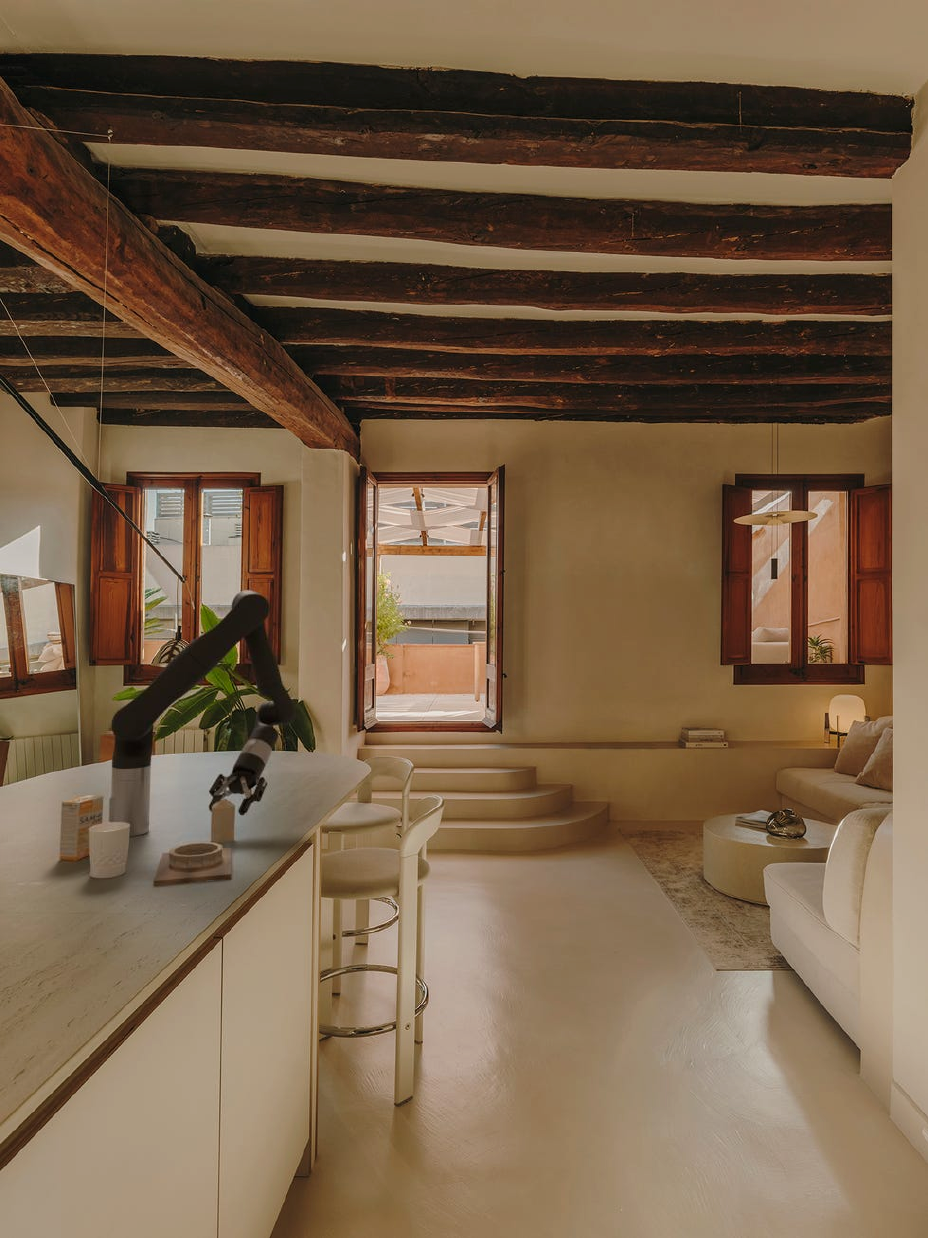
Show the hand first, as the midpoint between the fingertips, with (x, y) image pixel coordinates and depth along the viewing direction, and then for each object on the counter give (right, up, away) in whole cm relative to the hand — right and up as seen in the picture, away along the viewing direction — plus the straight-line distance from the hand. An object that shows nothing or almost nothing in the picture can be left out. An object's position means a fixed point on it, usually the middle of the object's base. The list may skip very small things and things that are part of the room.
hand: (226, 812), depth 177 cm
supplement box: (-29, -6, -15) cm, 33 cm away
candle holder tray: (+1, -6, -23) cm, 24 cm away
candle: (0, -7, -1) cm, 7 cm away
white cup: (-16, -6, -28) cm, 32 cm away
